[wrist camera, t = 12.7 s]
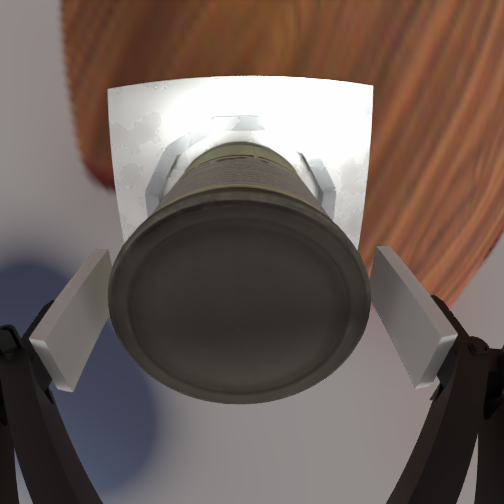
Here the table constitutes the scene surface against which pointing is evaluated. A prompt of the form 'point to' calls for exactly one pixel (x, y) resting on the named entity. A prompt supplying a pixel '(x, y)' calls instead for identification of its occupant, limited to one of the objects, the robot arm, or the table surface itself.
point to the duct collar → (242, 137)
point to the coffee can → (239, 283)
